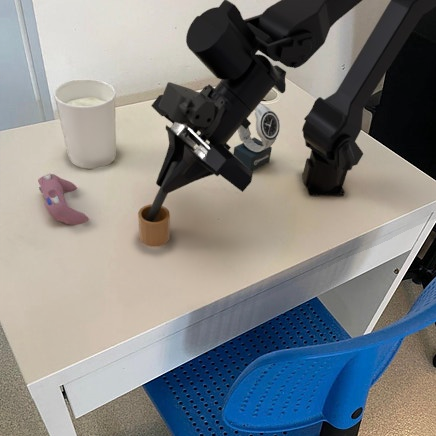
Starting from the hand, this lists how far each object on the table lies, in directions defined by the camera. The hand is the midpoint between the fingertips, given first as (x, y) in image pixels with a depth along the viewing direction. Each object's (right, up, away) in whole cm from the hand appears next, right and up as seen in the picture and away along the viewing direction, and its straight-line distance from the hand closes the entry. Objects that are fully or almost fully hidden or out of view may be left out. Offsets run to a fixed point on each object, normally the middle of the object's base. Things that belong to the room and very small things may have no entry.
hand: (161, 188), depth 69 cm
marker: (-1, -4, +5) cm, 7 cm away
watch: (+14, +9, +24) cm, 29 cm away
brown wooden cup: (-2, -7, +7) cm, 10 cm away
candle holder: (-15, +10, +21) cm, 27 cm away
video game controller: (-16, -2, +10) cm, 19 cm away
